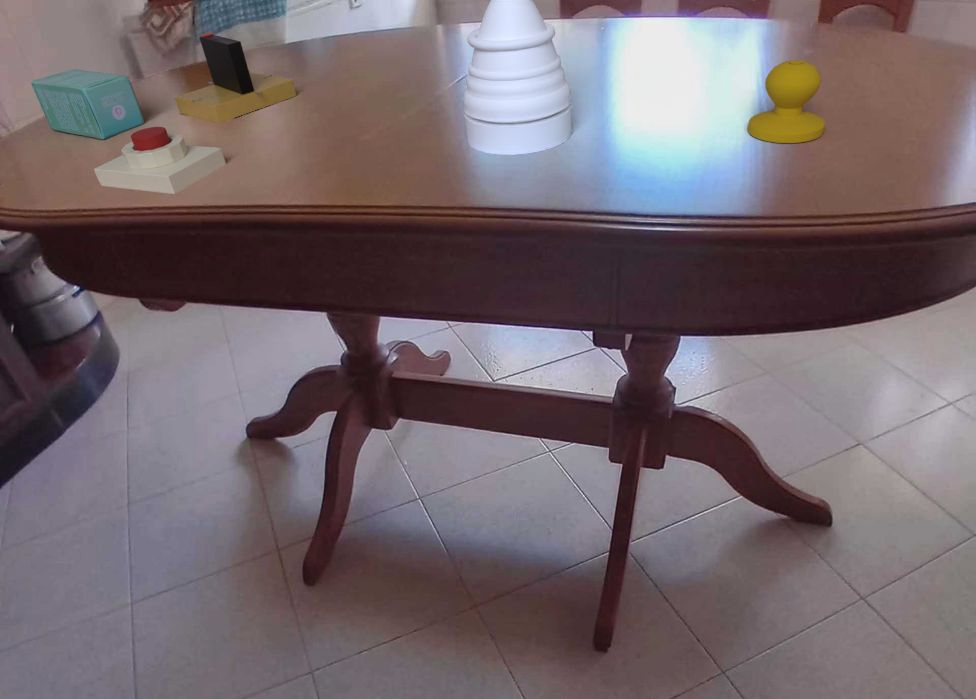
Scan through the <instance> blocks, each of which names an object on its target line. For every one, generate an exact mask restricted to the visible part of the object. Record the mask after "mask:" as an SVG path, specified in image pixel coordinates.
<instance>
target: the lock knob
mask: <svg viewBox="0 0 976 699" xmlns="http://www.w3.org/2000/svg"><path fill="white" fill-rule="evenodd" d="M199 41H200V44H201V48H202V52H203V54H204V58H205V60H206V63H207V66H208V70H209V73H210V77H211V79H212V83H214V84H213V85H217V86H219V87H222V88H225V89H228V90H231V91H234V92H237V93H239V94H242V95H243V94H246V93H250V92H253V91H254V88H253V84H252V81H251V77H250V74H249V73H250V70H249V67H248V63H247V60H246V56H245V53H244V49H243V45H242V42H241V40H236V39H232V38H228V37H223V36H220V35H216V34H214V32H213V33H212V32H208V33H204V34H199Z"/></svg>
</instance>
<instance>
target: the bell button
mask: <svg viewBox="0 0 976 699" xmlns="http://www.w3.org/2000/svg"><path fill="white" fill-rule="evenodd" d="M167 133H168V131H167V128H165V127H163V126H151V127H145V128H142V129H139V130H136V131H134V132H133V133H132V134H130V139H131V142H133V144H134V147H135V149H136V151H147V150H153V149H157V148H160V147H163V146H165V145H167V144H169V143H171V142H170V139H169V136H168V134H169V133H168V134H167Z"/></svg>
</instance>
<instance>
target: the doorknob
mask: <svg viewBox="0 0 976 699" xmlns="http://www.w3.org/2000/svg"><path fill="white" fill-rule="evenodd" d="M821 84H822V76H821V74H820V71H819V69H818V68H817V67H816V66H815V65H814V64H812V63H810V62H808V61H805V60H801V59H799V60H798V59H795V60H786V61H783V62H781V63H779V64H777V65H775V66H774V67H773V68H771V70H770V72H768V74H767V76H766V78H765V82H764V85H765V90H766V93H767V95H768V97H769V99H770V100H771V101H772V103H773V104H774V109H771V110H767V111H763V112H759V113H756V114H754V115H753V116H751V117H750V118H749V120H748V123H747V124H748V125H747V132H748V134H749V135H751V136H752V137H753V138H755V139H758V140H761V141H764V142H768V143H774V144H775V143H777V144H800V143H806V142H810V141H814V140H816V139H819V138H821V136H823V134H824V132H825V128H826V121H825V119H824V118H823V117H821V116H819V115H817V114H816V113H812V112H810V111H806V110H804V105H805V104H807V103H808V102H809V101H810V100H811V99H812V98H813V97H814V96H815V95H816V93H817V92H818V91H819V89H820V86H821Z"/></svg>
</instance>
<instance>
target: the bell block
mask: <svg viewBox="0 0 976 699" xmlns="http://www.w3.org/2000/svg"><path fill="white" fill-rule="evenodd" d="M167 134H168V136H169V139H170V142H171V143H169V144H167V145H165V146H163V147H160V148H157V149H153V150H147V151H136V149H135V147H134V144H133V142H132V141H131V142H128V143H126V144H125V145H124V147H122V149H121V150H120V151H121V154H122V155H120V156H118V157H116V158H113V159H111V160H109V161H107V162H105V163H103V164H101V165H98V166H97V167H95V168H93V171H94V174H95V175H96V178H97V181H98V182H99V185H100V186H101V187H108V188H109V187H110V188H118V189H124V190H125V189H126V190H134V191H135V190H136V191H144V192H151V193H161V194H168V195H169V194H170V195H171V194H172V195H176V194H178V193H179V192H181V191H182V190H185V189H186V188H189V187H190V186H192V185H193V184H195V183H197V182H198V181H200V180H202V179H204V178H205V177H207V176H209V175H211V174H212V173H214V172H216V171H218V170H220V169H222V168H223V167H225V166H226V165H227V162H226V159H225V156H224V153H223V149H222V148H221V147H214V146H203V145H202V146H201V145H189V144H188V145H187V144H186V142H185V139H184V137H183V136H182V135H181V134H179V133H169V132H167Z"/></svg>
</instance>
